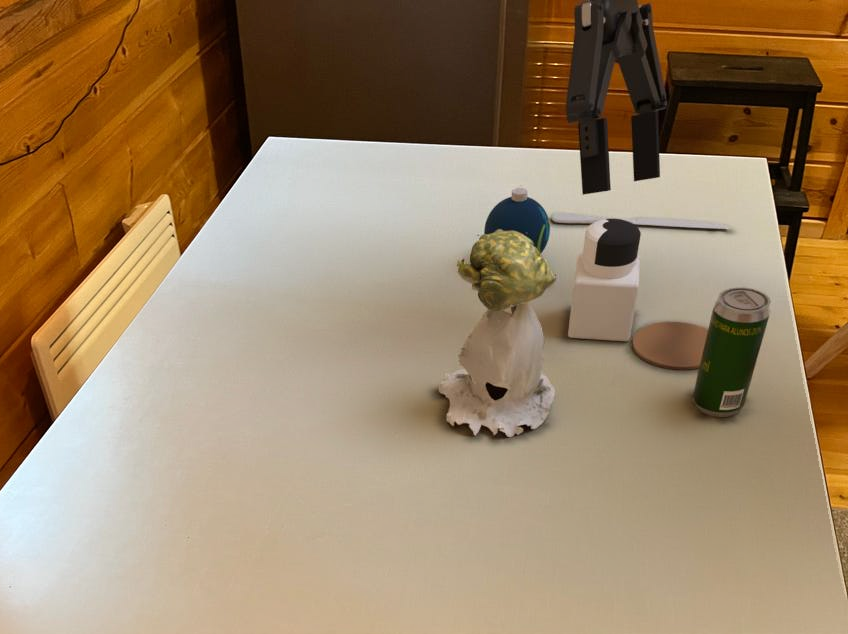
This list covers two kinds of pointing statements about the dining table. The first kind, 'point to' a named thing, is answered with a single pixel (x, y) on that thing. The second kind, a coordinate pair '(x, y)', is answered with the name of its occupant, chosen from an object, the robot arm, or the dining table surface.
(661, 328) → the coaster
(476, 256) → the white and green statuette
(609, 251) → the medicine bottle
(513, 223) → the christmas ornament
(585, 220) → the butter knife
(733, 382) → the green drink can
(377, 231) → the dining table surface
